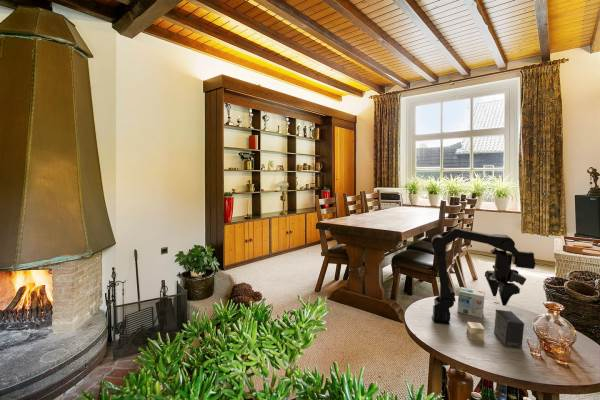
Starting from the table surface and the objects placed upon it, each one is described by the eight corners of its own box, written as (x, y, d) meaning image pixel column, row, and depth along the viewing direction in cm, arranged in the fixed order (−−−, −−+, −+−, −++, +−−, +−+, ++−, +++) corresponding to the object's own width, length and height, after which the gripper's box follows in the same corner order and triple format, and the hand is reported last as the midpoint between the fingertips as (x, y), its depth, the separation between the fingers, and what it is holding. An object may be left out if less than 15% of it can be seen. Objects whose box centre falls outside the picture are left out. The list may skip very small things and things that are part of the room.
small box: (523, 349, 116) (525, 323, 115) (504, 347, 117) (506, 321, 116) (510, 334, 126) (512, 310, 125) (493, 332, 128) (494, 309, 127)
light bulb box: (457, 312, 146) (458, 290, 145) (458, 307, 152) (460, 286, 151) (482, 318, 140) (484, 296, 139) (483, 312, 146) (485, 291, 144)
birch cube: (470, 339, 123) (471, 327, 122) (466, 332, 128) (467, 321, 127) (483, 340, 122) (484, 329, 121) (479, 334, 127) (480, 323, 126)
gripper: (537, 274, 115) (532, 313, 117) (513, 260, 134) (509, 293, 135) (504, 272, 118) (500, 309, 119) (485, 258, 136) (482, 291, 137)
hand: (499, 300), depth 128 cm, fingers open, 9 cm apart
